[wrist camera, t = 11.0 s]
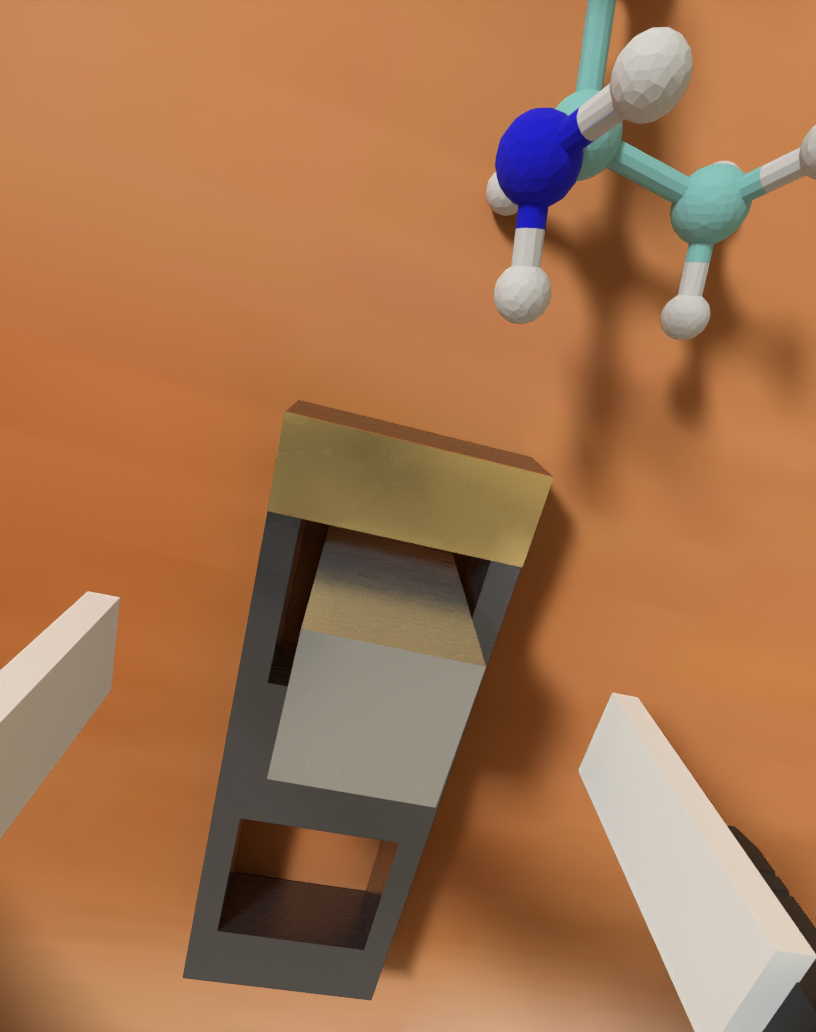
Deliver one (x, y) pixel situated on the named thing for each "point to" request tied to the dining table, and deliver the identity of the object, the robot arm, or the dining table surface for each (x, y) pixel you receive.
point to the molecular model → (622, 167)
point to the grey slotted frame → (266, 673)
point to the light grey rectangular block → (379, 672)
